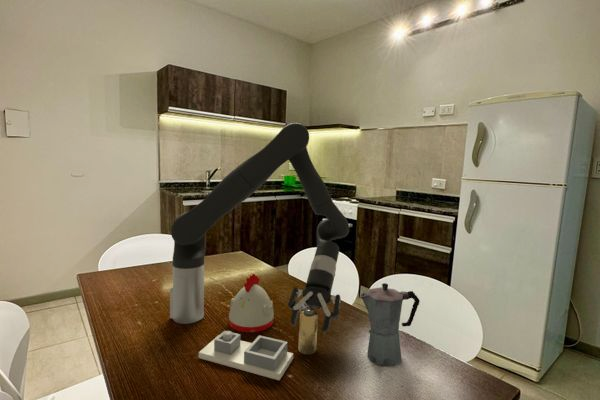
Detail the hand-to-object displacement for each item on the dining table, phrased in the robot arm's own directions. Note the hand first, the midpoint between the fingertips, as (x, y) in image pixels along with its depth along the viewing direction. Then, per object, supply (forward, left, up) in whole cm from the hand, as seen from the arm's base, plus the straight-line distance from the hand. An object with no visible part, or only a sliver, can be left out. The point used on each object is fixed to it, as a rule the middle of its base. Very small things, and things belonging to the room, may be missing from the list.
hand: (308, 328), depth 87 cm
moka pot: (+20, +5, -6) cm, 21 cm away
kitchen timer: (-21, +8, -6) cm, 23 cm away
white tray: (-13, -10, -6) cm, 18 cm away
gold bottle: (0, 0, -6) cm, 6 cm away
